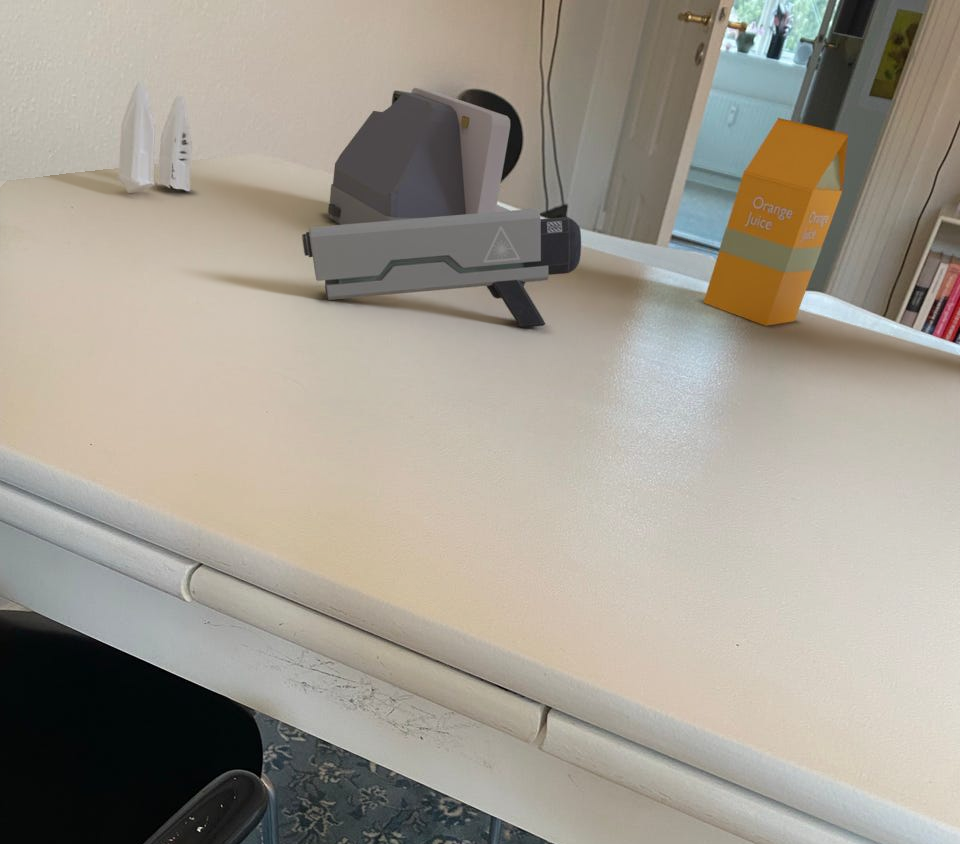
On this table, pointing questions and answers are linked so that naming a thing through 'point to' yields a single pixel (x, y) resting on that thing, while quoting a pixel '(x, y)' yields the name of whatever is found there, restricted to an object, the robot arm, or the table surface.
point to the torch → (854, 18)
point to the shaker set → (141, 145)
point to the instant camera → (421, 161)
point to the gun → (446, 256)
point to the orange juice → (779, 223)
